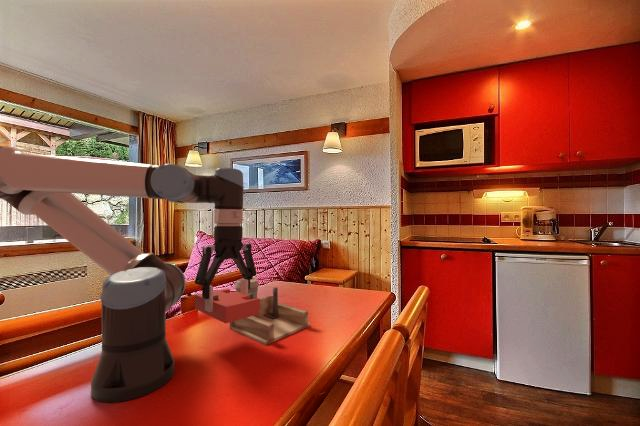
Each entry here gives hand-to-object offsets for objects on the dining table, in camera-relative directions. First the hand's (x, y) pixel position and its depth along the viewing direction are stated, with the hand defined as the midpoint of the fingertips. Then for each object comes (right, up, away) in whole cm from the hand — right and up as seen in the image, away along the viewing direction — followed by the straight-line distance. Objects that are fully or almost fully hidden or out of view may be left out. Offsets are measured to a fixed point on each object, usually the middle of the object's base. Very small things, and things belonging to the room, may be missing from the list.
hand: (227, 306), depth 79 cm
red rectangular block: (0, -2, 0) cm, 2 cm away
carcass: (+10, -11, +13) cm, 19 cm away
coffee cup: (-1, -11, +26) cm, 28 cm away
